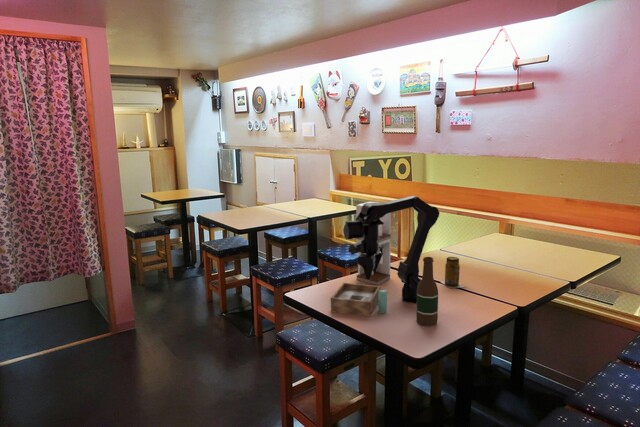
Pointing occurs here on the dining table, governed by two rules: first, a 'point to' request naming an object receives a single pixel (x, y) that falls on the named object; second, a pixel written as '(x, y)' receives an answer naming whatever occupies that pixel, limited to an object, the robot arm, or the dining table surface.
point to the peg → (382, 301)
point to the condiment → (452, 273)
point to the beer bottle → (427, 296)
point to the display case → (385, 240)
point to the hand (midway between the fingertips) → (371, 275)
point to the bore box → (355, 299)
